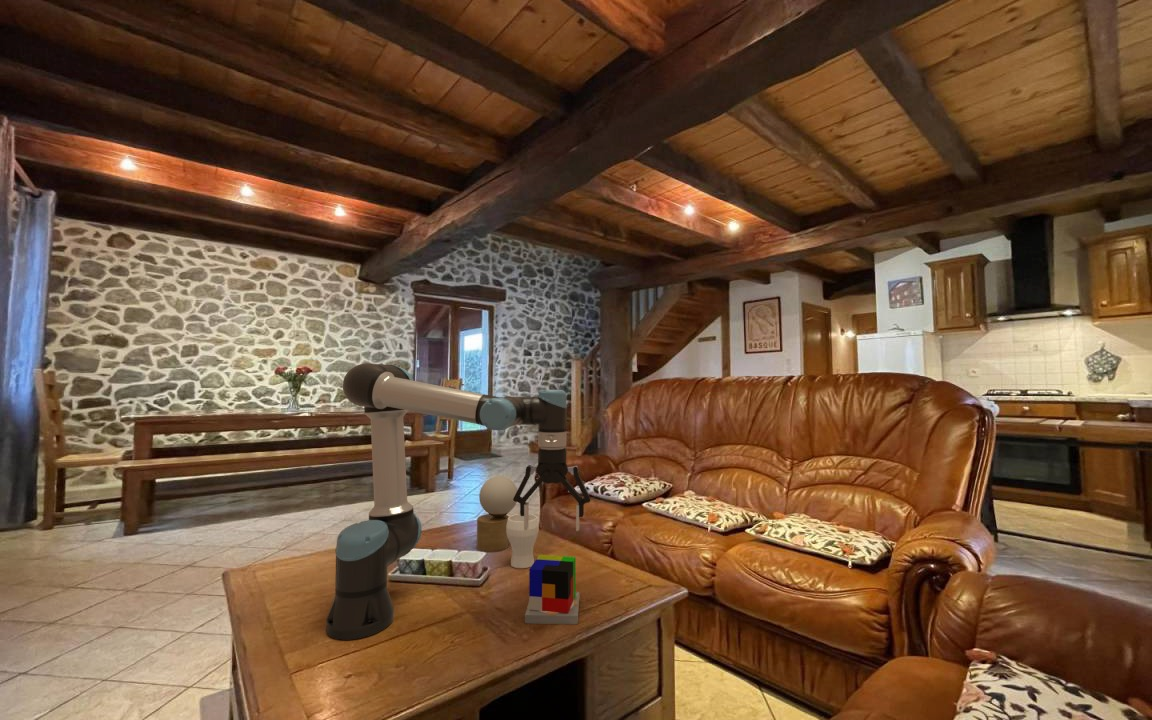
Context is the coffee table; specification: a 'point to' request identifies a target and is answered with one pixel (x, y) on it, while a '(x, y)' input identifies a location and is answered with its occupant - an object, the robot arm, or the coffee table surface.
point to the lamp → (495, 513)
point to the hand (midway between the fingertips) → (551, 529)
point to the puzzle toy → (552, 583)
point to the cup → (522, 539)
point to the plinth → (554, 615)
